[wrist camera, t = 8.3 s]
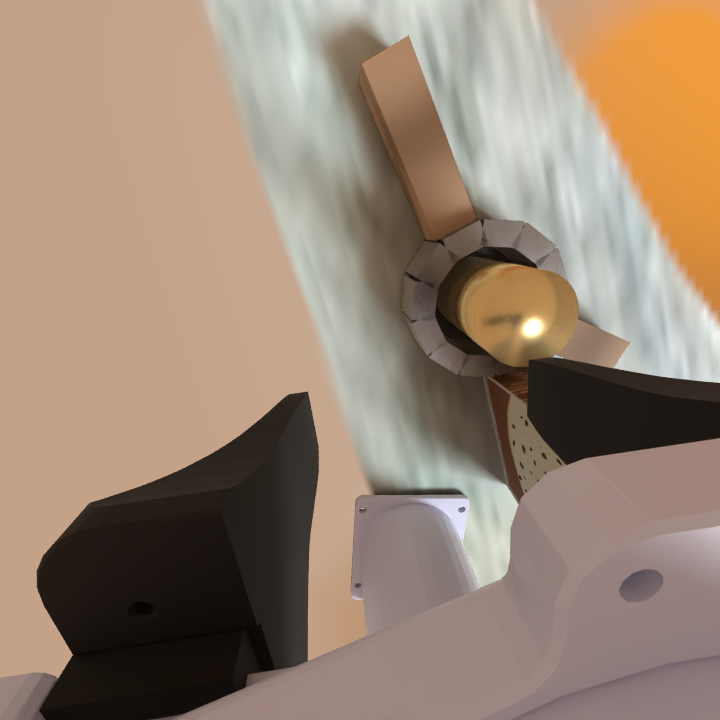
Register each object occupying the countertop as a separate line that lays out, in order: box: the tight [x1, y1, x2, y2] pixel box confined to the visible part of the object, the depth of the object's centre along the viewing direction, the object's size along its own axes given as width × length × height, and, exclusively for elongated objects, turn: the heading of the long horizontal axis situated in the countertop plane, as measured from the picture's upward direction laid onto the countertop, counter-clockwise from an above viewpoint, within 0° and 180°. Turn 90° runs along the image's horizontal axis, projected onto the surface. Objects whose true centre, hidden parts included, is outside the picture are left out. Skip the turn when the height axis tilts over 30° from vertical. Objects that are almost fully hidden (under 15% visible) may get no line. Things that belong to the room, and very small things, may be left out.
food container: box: [483, 367, 566, 504], centre depth 20 cm, size 12×6×10 cm, turn 18°
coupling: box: [358, 36, 630, 377], centre depth 19 cm, size 15×16×3 cm
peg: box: [436, 256, 579, 367], centre depth 18 cm, size 4×4×7 cm
